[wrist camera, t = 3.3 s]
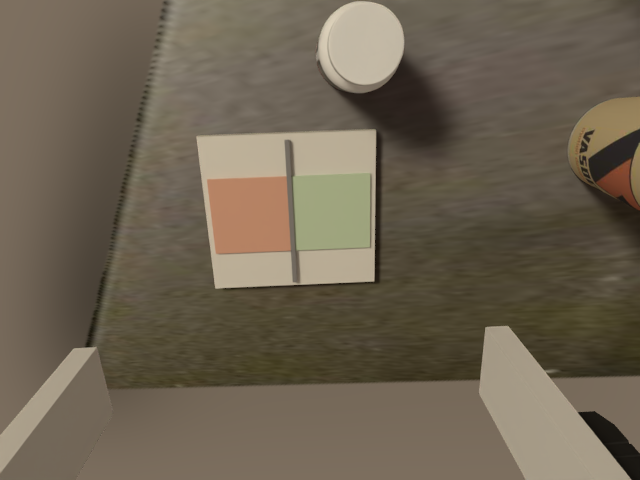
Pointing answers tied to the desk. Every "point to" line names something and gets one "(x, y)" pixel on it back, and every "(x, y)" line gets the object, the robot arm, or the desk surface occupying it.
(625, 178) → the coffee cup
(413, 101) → the desk surface
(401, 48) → the pill bottle
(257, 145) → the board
